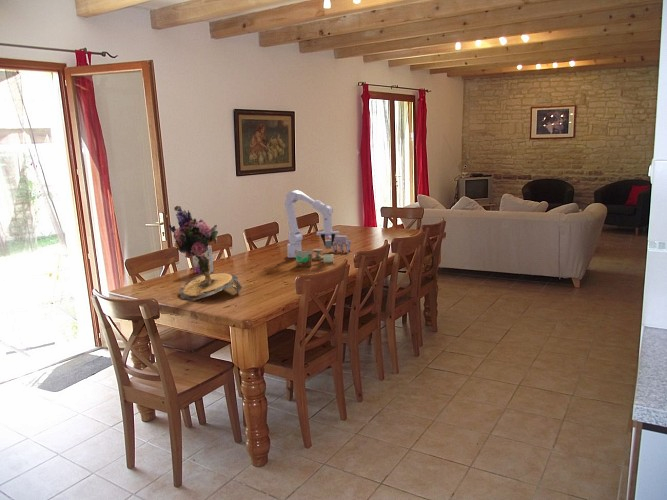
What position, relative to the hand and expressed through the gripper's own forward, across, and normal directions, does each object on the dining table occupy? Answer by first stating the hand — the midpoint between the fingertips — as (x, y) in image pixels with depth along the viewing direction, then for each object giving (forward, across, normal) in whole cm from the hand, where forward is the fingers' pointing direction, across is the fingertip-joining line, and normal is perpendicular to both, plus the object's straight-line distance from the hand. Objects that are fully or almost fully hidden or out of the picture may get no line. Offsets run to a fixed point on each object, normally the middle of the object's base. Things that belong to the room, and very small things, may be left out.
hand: (328, 245), depth 348 cm
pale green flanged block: (+8, 0, -8) cm, 11 cm away
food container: (+9, -16, -21) cm, 28 cm away
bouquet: (+9, -60, -74) cm, 95 cm away
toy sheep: (+9, +5, +23) cm, 25 cm away
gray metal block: (+2, 0, 0) cm, 2 cm away
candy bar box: (+9, -75, -28) cm, 81 cm away
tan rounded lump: (+8, -7, 0) cm, 11 cm away
